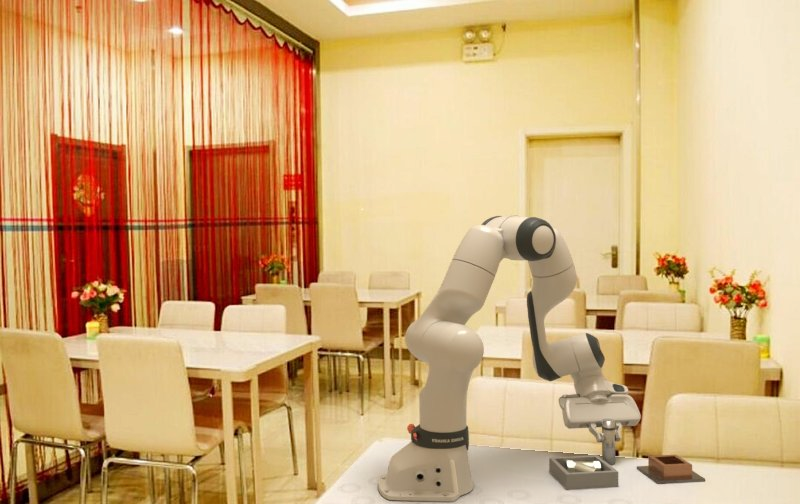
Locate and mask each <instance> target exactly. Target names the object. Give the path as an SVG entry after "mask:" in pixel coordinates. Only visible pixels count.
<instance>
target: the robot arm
mask: <svg viewBox="0 0 800 504" xmlns="http://www.w3.org/2000/svg"><path fill="white" fill-rule="evenodd" d="M503 259H507V260H511V261H527V263H528V267H529V269H530V273H531V276H532V287H531V290H530V291H529V292H528V293H527V294H526V307H527V319H528V324H529V325H528V326H529V332H530V333H529V334H530V340H531V345H532V366H533V369H534V371H535V372H536V374H537V376H538V377H539V378H541V379H543V380H545V381H547V382H553V381H555V380H559V379H561V378H562V377H566V376H569V375H570V377H571V379H572V380H573V387H574V390H575V394H574V393H573V394H563V395H561V396H560V397H559V398H558V405H559V407H560V409H561V410H562V411H561V412H562V420H563V424H564V426H565V427H566V428H567V429H568V430H569V429H588V431H589V433H591V435H593V436H594V438H595V439H596V442H597V443H602V442H604V440H605V439H604V437H603V436H604V435H603V433H602V432H600V431H598V429H597V428H602V419H613V420H615V442H621V441H622V439H623V438H622V434H621V431H622V427H632V426H633V427H635V426H637V425H638V424H639V422H640V420H641V418H642V415H641V412H640V409H639V407H638V405H637V403H636V401H635V399H634V398H633V397H632V396H631V395H630V394H629V388H628V387H627V386H626V385H624V384H619V383H616V382H612V381H609V380H607V378H606V377H605V375H604V374H603V371H602V370H603V366H604V364H605V361H606V359H605V355H604V353H603V351H602V349H601V346H600V341H599V339H598V338H597V337H596V336H594V335H593V334H590V333H588V332H584V333H583V332H582V333H579V334H575V335H571V336H569V337H566V338H562V339H558V340H555V341H551V342H548V341H547V335H546V329H545V318H546V316H547V314H549V312H550V311H552V310H553V309H554V308H555V307H557V306H558V305H560V303H562V302H564V301H565V300H566V299H567V298H568V297H569V296H570V295H571V294H572V293H573V292H574V290H575V287H576V286H577V282H578V276H577V271H576V267H575V264H574V260H573V257H572V254H571V252H570V250H569V247H568V245H567V243H566V241H565V239H564V238H563V236H562V234H561V232H560V231H559V230H558V229H557V228H555V227H553V226H552V225H551V224H550V222H548V221H546V220H545V219H543V218H539V217H536V216H533V217H531V216H530V217H529V216H528V217H527V216H521V215H517V214H516V215H514V214H513V215H511V214H510V215H496V216H492V217H489V218H487V219H485V220H484V221H483V222H482V223H481V224H477V225H473V226H472V227H469V229H468V230H467V232H466V233H465V235H464V236H463V238H462V239H461V241H460V242H459V245H458V246H457V248H456V249H455V252H454V255H453V257H452V259H451V262H450V263H449V266H448V268H447V271H446V273H445V276H444V278H443V280H442V283H441V284H440V287H439V288H438V291H437V292H436V294H435V295H434V297H433V299H432V300H431V302H430V303H429V304H428V305H427V307H426V309H425V310H424V311H423V312H422V314H421V315H420V316H419V317H418V318H417V319H416V320H414V321H413V322H411V323H410V325H409V326H408V327H407V329H406V332H405V336H404V342H405V343H404V344H405V346H406V348H407V350H408V351H409V352H410V353H411V354H412V355H413V356H414V357H415V358H416V359H417V360H419V361H420V362H423V363H426V364H428V374H427V378H426V382H425V384H424V386H423V387H422V389H421V390H420V392H419V395H418V396H419V397H418V399H419V404H418V405H419V406H418V408H419V424H417V425H416V426H415V425H414V423H409V424H408V426H407V427H406V429H407V431H408V433H409V434H410V440H411V441H410V442H408V443H407V444H406V445H405V446H403V447H402V448H401V449H400V450H398V451H397V452H395V453H394V454H393V455H392V456H391V458H390V460H389V463H388V467H387V472H386V473H384V474H381V476H380V477H379V478H378V483H377V488H378V492H379V493H380V495H381V496H382V497H383V498H385V499H387V500H390V501H408V502H409V501H414V502H417V501H418V502H454V501H457V500H458V499H459V498H460V497H462V496H464V495H466V494H468V493H470V492H472V491H473V489H474V487H475V484H474V481H473V477H472V473H471V472H472V471H471V467H470V463H469V461H470V460H469V452H468V451H469V447H470V430H469V425H467V408H468V407H467V398H468V397H467V395H468V388H469V385H470V381H471V377H472V375H473V372H474V370H475V369H476V368H478V366H479V365H480V364H481V362H482V360H483V358H484V353H485V351H484V349H485V347H484V341H483V340H482V338H481V336H480V335H479V334H477V332H476V331H474V330H472V329H471V328H469V327H468V326H466V324H467V323H468V321H469V320H470V319H471V318H472V317H473V316H474V315H475V314H476V313H477V312H479V311H480V310H482V308H483V307H484V304H485V302H486V300H487V297H488V295H489V292H490V290H491V288H492V285H493V283H494V280H495V278H496V275H497V272H498V269H499V267H500V263H502V261H503Z"/></svg>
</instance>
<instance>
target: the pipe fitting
mask: <svg viewBox="0 0 800 504" xmlns="http://www.w3.org/2000/svg"><path fill="white" fill-rule="evenodd" d="M565 469H566V470H567V471H568V472H569V473H575V472H593V471H601V464H600V462H599V461H592V462H583V461H566V462H565Z"/></svg>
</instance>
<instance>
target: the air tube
mask: <svg viewBox="0 0 800 504" xmlns="http://www.w3.org/2000/svg"><path fill="white" fill-rule="evenodd" d="M601 433H603V435H604V436H603V437H604V439H605V440H604V442H601V450H602V451H601V455H602V456H601V457H602V459H603V460H604V461H605V462H607V463H608V464H609V465H610V466H614V465H616V441H615V433H616V430H615V420H613V419H602V427H601Z"/></svg>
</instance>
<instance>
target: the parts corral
mask: <svg viewBox="0 0 800 504" xmlns="http://www.w3.org/2000/svg"><path fill="white" fill-rule="evenodd" d="M548 458H549V460H548V461H549V462H548V463H549V464H548V465H549V467H548V468H549V469H548V471H549V473H550V475H552V476H553V477H554V479H556V480H557V481H558V483H560V484H561V486H563V488H564V489H566V490H584V489H603V488H617V487H619V471H618V470H617V469H615V468H614V467H613V465H609V464H608V463H607V462H605V461H604V460H603V459H602V458H601V457H600V456H599V455H598V454H594V455H593V454H591V455H575V456H574V455H573V456H553V457H548ZM566 461H583V462H592V461H599V462H600V464H601V471H593V472H575V473H569V472H568V471H567V470H566V469H565V462H566Z"/></svg>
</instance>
